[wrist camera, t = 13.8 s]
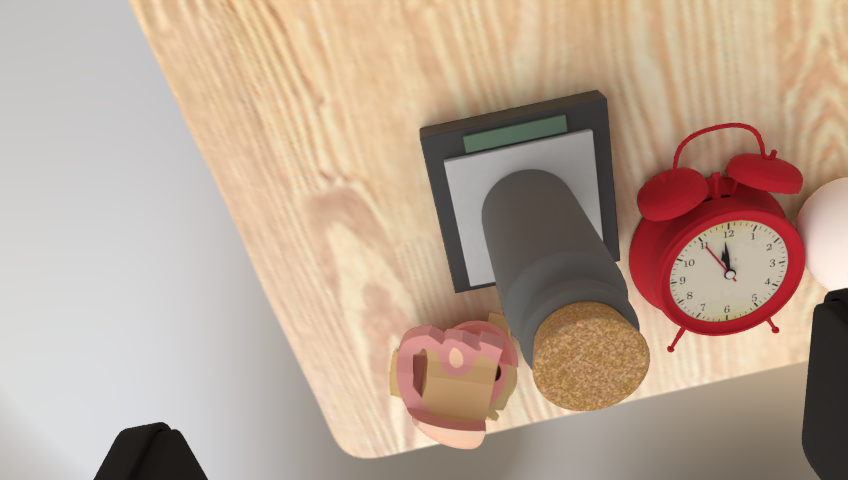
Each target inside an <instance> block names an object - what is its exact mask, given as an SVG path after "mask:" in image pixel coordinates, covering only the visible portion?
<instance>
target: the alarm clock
mask: <svg viewBox="0 0 848 480" xmlns="http://www.w3.org/2000/svg"><path fill="white" fill-rule="evenodd" d="M731 127H737V128H744V129H747V130H750V131H751V132H752V133H753V134H754V135H755V136H756V138H757V140H758V143H759V146H760V151H761V155H760V154H741V155H738V156H735V157H734V158H732V159H731V160H730V162H729V163H728V165H727V167H726V170H725V172H726V173H727V175H728V176H730V177H721V173H720V172H717V173H712V174H711V176H712V178H706V179H704V177H703V176H702V175H701V174H700V173H699V172H697V171H695V170H693V169H690V168H677V165H678V159H679V155H680V153H681V151H682V148H683V147H684V146H685V145H686V144H687V143H688V142H689V141H690V140H692V139H693V138H695V137H697V136H699V135H701V134H704V133H706V132H710V131H714V130H717V129H722V128H731ZM776 154H777V151H776V150H772V151H771V154H770V156H767V155H766V154H765V146H764V143H763V140H762V138H761V135H760V134H759V132H758V131H757V130H756V129H755V128H753V127H751V126H750V125H746V124H742V123H728V124H721V125H715V126H712V127H708V128H705V129H702V130H700V131H698V132H695V133H693V134H691V135H690V136H689V137H687V138H686V139H685V140H684V141H682V143H681V144H680V145H679V147H678V148H677V151H676V153H675V156H674V162H673V169H671V170H668V171H664V172H662V173H660V174H658V175H656V176H654V177H653V178H652V179H650V180H649V181H648V182H646V183H645V184H644V186H643V187H642V188H641V189H640V191H639V193H638V196H637V205H638V208H639V211H640V213H641V214H642V215H643V216H644V218H643V220H642V221H641V223H640V224H639V226H638V228H637V230H636V232H635V234H634V237H633V239H632V242H631V246H630V252H629V268H630V273H631V276H632V279H633V281H634V284H635V285H636V287H637V289H638V290H639V292H640V293H641V295H642V296H643V297H644V298H645V299H646V300H647V301H648V302H649V303H650V304H652V305H653V306H655V307H656V308H658V309H660V310H662V311H663V313H664V314H665V315H666V316H667V317H668V318H669V319H670V320H671V321H672V322H674V323H675V324H677V325H678V326H680V327H681V328H680V330H679V332H678V333H677V335H676V338H675V339H674V341H673V343H672V345H671V346H668V347H667V350H668V351H669V352H673V351H674V346H675V345H676V343H677V341H678V340H679V338H681V336H682V335H683V333H684V331H685V330H688V331H690V332H694V333H697V334H701V335H709V336H723V335H730V334H735V333H739V332H742V331H745V330H748V329H750V328H753V327H755V326H757V325H759V324H761V323H763V322H764V321H767V322H768V323H769V324H770V326H771V327H772V332H773V333H778V332H779V328H778V327H775V326H774V324H773V322H772V321H771V318H770V317H772V316H773V315H774V314H776V313H777V312H778V311H779V310H780V309H781V308H782V307H783V306H784V305H785V304H786V303H787V302H788V301H789V300H790V298H791V297H792V295H793V294H794V293H795V291H796V289H797V287H798V285H799V283H800V281H801V278H802V275H803V271H804V266H805V251H804V247H803V244H802V241H801V239H800V236H799V234H798V232H797V230H796V229H795V228H794V226H793V225H792V224H791V223H790V222H789V221H788V220H787V219H786V218H785V215H784V212H783V210H782V208H781V207H780V205H779V204H778V202H777V201H776V200H775V199H774V197H773V196H771V195H770V194H769V193H768V192H767V191H769V192H774V193H783V194H795V193H799V191H800V190H801V187H802V184H803V177H802V174H801V172H800V171H799V170H798V169H797V168H796V167H794V166H793V165H792V164H790V163H788V162H786V161H783V160H781V159H778V158H775V157H776Z"/></svg>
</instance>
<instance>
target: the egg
mask: <svg viewBox="0 0 848 480" xmlns="http://www.w3.org/2000/svg"><path fill="white" fill-rule="evenodd" d="M795 229H796V230H797V232H798V234H799V236H800V239H801V241H802V244H803V247H804V251H805V266H806V267H807V269H808V270H809V272H810V273H811V275H812V276H813V277H814V278H815V279H816V280H817V281H818V282H819V283H820V284H821V285H822V286H824V287H825V288H826V289H828V290H830V291H833V290H838V289H843V288H848V177H844V178H839V179H836V180H833V181H831V182H828V183H826V184H824V185H823V186H822V187H820V188H819V189H817V190H816V191H815V192H814V193H813V194H812V195H811V196H810V197H809V198H808V199H807V200H806V202H805V203H804V205H803V206H802V208H801V209H800V211H799V214H798V217H797V221H796V228H795Z"/></svg>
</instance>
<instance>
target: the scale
mask: <svg viewBox="0 0 848 480" xmlns="http://www.w3.org/2000/svg"><path fill="white" fill-rule="evenodd" d="M420 141H421V145H422V150H423V154H424V158H425V163H426V167H427V172H428V176H429V180H430V185H431V189H432V193H433V198H434V202H435V207H436V211H437V215H438V220H439V224H440V228H441V233H442V237H443V242H444V246H445V250H446V255H447V259H448V263H449V268H450V272H451V277H452V281H453V285H454V290H455V293H459V292H464V291H469V290H474V289H479V288H484V287H490V286H495V285H496V281H495V277H494V273H493V269H492V265H491V261H490V257H489V253H488V249H487V245H486V241H485V236H484V231H483V226H482V215H481V211H482V207H483V203H484V200H485V198H486V196H487V194H488V193H489V191H490V190H491V189H492V187H493V186H494V185H495V184H496V183H497V182H498V181H500V180H501V179H502V178H504V177H506V176H508V175H510V174H512V173H514V172H518V171H521V170H529V169H536V170H543V171H546V172H549V173H552V174H554V175H555V176H557V177H559V178H560V179H561V180H562V181H563V182H564V183H565V184H566V185H567V186H568V187H569V188H570V190H571V191H572V193H573V194H574V196H575V197H576V199H577V200H578V202H579V204H580V205H581V207H582V209H583V210H584V212H585V213H586V215H587V217H588V218H589V220H590V222H591V223H592V225H593V226H594V228H595V230H596V231H597V233H598V235H599V236H600V238H601V239H602V241H603V243H604V244H605V246H606V248H607V249H608V251H609V253H610V254H611V256H612V258H613V259H614V261H615V262H617V261H620V252H619V240H618V228H617V216H616V204H615V192H614V180H613V168H612V156H611V144H610V132H609V120H608V108H607V98H606V97H605V96H604V95H602V94H601V93H600V92H599V91H598V90H595V91H590V92H585V93H581V94H576V95H572V96H567V97H562V98H558V99H553V100H549V101H544V102H540V103H535V104H530V105H526V106H521V107H517V108H512V109H507V110H503V111H498V112H494V113H489V114H484V115H480V116H475V117H471V118H466V119H462V120H457V121H452V122H448V123H443V124H439V125H434V126H429V127H425V128H421V129H420Z"/></svg>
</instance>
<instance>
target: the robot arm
mask: <svg viewBox="0 0 848 480" xmlns="http://www.w3.org/2000/svg"><path fill="white" fill-rule="evenodd" d="M802 445H803V450H804V453H805V456H806V458H807V460H808V462H809V463H810V465H811V467H812V468H813V469H814V471H815V472H816V474H817V475H818V476H819V478H820V479H821V480H848V288H843V289H838V290H833V291H830V292H828V293H827V295H826V296H825V299H824V303H822V304H818V305H816V307H815V308H814V312H813V322H812V333H811V344H810V354H809V365H808V376H807V388H806V398H805V409H804V420H803V430H802ZM94 480H208V479H207V477H206V475H205V473H204V472H203V470H202V468H201V467H200V465H199V463H198V461H197V460H196V458H195V456H194V454H193V453H192V451H191V449H190V447H189V445H188V444H187V442H186V440H185V438H184V437H183V435H182V434H181V433H180V431H178V430H176V429H173V430H171V428H170V427H169V426H168V425H167V424H165V423H163V422H158V423H153V424H148V425H142V426H137V427H132V428H127V429H124V430H123V431H121V432H120V433H119V435H118V436H117V437H116V439H115V441H114V443H113V445H112V446H111V448H110V450H109V452H108V454H107V456H106V458H105V459H104V461H103V463H102V465H101V467H100V469H99V471H98V472H97V474H96V476H95V478H94Z"/></svg>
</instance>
